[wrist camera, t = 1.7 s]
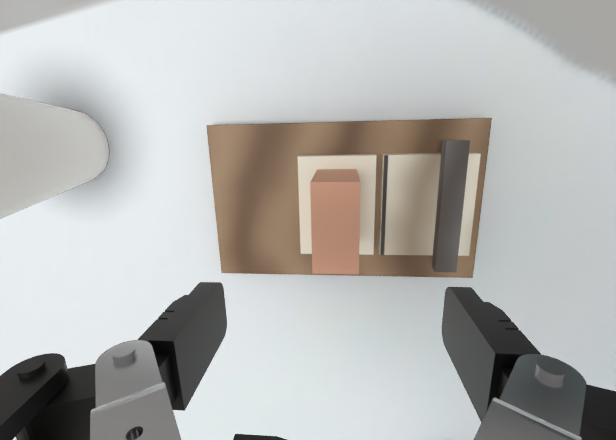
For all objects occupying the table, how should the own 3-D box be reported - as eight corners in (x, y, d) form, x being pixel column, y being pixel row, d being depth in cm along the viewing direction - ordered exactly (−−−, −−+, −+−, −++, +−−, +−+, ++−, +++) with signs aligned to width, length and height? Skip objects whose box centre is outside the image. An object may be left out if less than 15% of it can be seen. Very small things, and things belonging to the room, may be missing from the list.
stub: (374, 154, 26) (387, 164, 19) (372, 249, 28) (382, 289, 21) (299, 155, 27) (284, 165, 20) (302, 248, 29) (290, 287, 22)
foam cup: (50, 204, 32) (-135, 255, 19) (10, 104, 30) (-231, 89, 17) (140, 186, 31) (1, 229, 18) (104, 80, 28) (-82, 45, 16)
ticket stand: (483, 118, 26) (506, 117, 23) (466, 270, 30) (483, 290, 26) (213, 125, 28) (194, 125, 25) (227, 266, 32) (212, 284, 28)
